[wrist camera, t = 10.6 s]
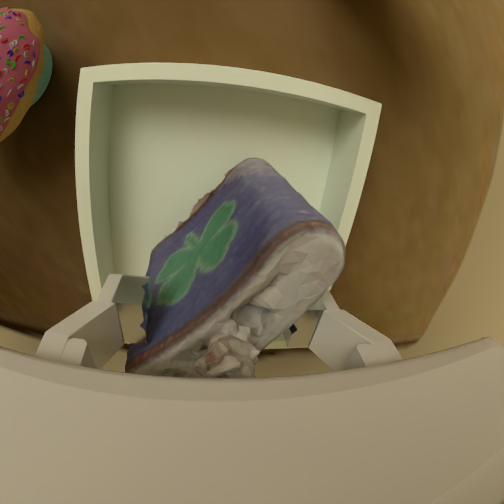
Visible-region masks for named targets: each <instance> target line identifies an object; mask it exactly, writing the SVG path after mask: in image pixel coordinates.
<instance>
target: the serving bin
mask: <svg viewBox="0 0 504 504" xmlns="http://www.w3.org/2000/svg"><path fill="white" fill-rule="evenodd" d="M381 107H382V104H381V103H378V102H375V101H373V100H370V99H367V98H364V97H361V96H358V95H355V94H352V93H349V92H346V91H343V90H339V89H336V88H333V87H329V86H325V85H322V84H318V83H314V82H310V81H306V80H302V79H298V78H293V77H288V76H284V75H279V74H273V73H268V72H262V71H256V70H250V69H243V68H235V67H227V66H217V65H205V64H190V63H129V64H113V65H102V66H93V67H85V68H81V69H80V77H79V85H78V95H77V108H76V126H75V175H76V194H77V207H78V217H79V226H80V234H81V242H82V248H83V255H84V261H85V267H86V272H87V277H88V282H89V287H90V292H91V296H92V301H97V299H98V297H99V295H100V293H101V290H102V288H103V286H104V284H105V282H106V279H107V277H108V275H109V274H111V273H114V274H123V275H124V274H126V275H136V276H146V272H147V270H148V266H149V261H150V255H151V250H152V249H153V248H154V247H155V246H156V245H157V244H158V243H159V242H161V241H162V240H163V239H164V238H165V235H166V236H167V235H169V234H172V233H173V232H174V231H175V230H176V228H177V226H178V224H179V221H180V222H184V221H185V220H187V219H188V218H189V216H190V214H191V212H192V210H191V209H193V206H194V205H195V204H196V203H197V202H198V199H201V198H203V197H204V195H205V194H206V193H210V192H211V190H213V189H215V187H217V186H218V185H219V184H220V183H221V182H222V181H223V179H224V178H225V177H226V176H225V173H227V172H228V170H230V169H232V168H234V167H235V166H236V165H237V164H239V163H241V162H242V161H244V160H245V159H247V158H260V159H264V160H265V161H267V162H268V163H270V165H271V166H272V167H273V168H274V169H275V170H276V171H277V172H278V173H279V174H280V175H282V176H283V177H284V178H286V180H287V181H288V182H289V184H290V185H291V186H292V187H293V188H294V189H295V190H296V191H297V192H298V193H300V194H301V195H302V196H303V197H304V198H305V199H306V201H307V202H308V203H309V204H310V205H311V206H312V207H313V208H315V209H316V210H317V211H318V212H319V213H320V214H322V215H323V216H324V217H325V218H326V219H328V220H329V221H330V222H331V223H332V224H333V226H334V227H335V229H336V230H337V232H338V233H339V234H340V236H341V238H342V239H343V241H344V244H345V247H346V243H347V240H348V237H349V234H350V231H351V227H352V224H353V221H354V217H355V214H356V211H357V207H358V204H359V200H360V197H361V193H362V189H363V186H364V182H365V178H366V174H367V170H368V166H369V162H370V158H371V154H372V149H373V145H374V141H375V136H376V132H377V127H378V122H379V117H380V112H381ZM332 285H333V284H332ZM332 285H331V286H330V287H329V288H328V290H329V292H330V290H331V287H332ZM283 348H305V347H287V345H286V342H285V339H284V336H283V334H281V335H280V336H278V337H277V338H276V339H275V340H274V341H272V342H271V343H270V344H269V345H268V346H267V347H266V348H265V349H283Z"/></svg>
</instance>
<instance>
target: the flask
mask: <svg viewBox="0 0 504 504" xmlns="http://www.w3.org/2000/svg"><path fill="white" fill-rule="evenodd" d="M225 176H226V177H225V178H224V179H223V181H222V182H221V183H220V184H219V185H218V186H217V187H215V189H213V190H211V192H210V193H206V194H205V195H204V197H203V198H201V199H198V202H197V203H196V204H195V205H194V206H193V209H191V210H192V212H191V214H190V216H189V218H188V219H187V220H185V221H184V222H180V221H179V224H178V226H177V228H176V230H175V231H174V232H173V233H172V234H169V235H167V236H166V235H165V238H164V239H163V240H162V241H161V242H159V243H158V244H157V245H156V246H155V247H154V248H153V249H152V250H151V255H150V261H149V266H148V270H147V272H146V276H147V277H150V278H151V291H150V295H151V296H152V302H153V309H152V319H151V322H150V323H149V336H148V342H147V344H135V343H130V348H129V350H128V352H127V361H126V365H125V373H133V374H143V375H154V376H168V377H186V378H256V377H255V376H254V370H255V369H254V365H255V364H256V362H257V361H258V358H257V356H258V355H259V353H260V352H261V351H263V350H264V349H265V348H266V347H267V346H268V345H269V344H270V343H271V342H272V341H274V340H275V339H276V338H277V337H278V336H280V335H281V334H283V333H284V332H286V331H287V330H288V329H289V328H290V327H291V326H292V325H293V324H294V323H295V322H296V321H297V320H298V319H299V318H300V317H301V316H302V315H303V314H304V313H305V312H306V311H307V310H308V309H309V308H310V307H312V306H313V305H314V304H315V303H316V302H317V301H318V300H319V299H320V298H321V297H322V296H323V295H324V293H325V292H326V290H327V289H328V288H329V287H330V286H331V285H332V284H333V283H334V282H335V281H336V280H337V279H338V277H339V275H340V274H341V272H342V270H343V268H344V266H345V259H346V248H345V244H344V241H343V239H342V238H341V236H340V234H339V233H338V232H337V230H336V229H335V227H334V226H333V224H332V223H331V222H330V221H329V220H328V219H326V218H325V217H324V216H323V215H322V214H320V213H319V212H318V211H317V210H316V209H315V208H313V207H312V206H311V205H310V204H309V203H308V202H307V201H306V199H305V198H304V197H303V196H302V195H301V194H300V193H298V192H297V191H296V190H295V189H294V188H293V187H292V186H291V185H290V184H289V182H288V181H287V180H286V178H284V177H283V176H282V175H280V174H279V173H278V172H277V171H276V170H275V169H274V168H273V167H272V166H271V165H270V163H268V162H267V161H265V160H264V159H260V158H247V159H245V160H244V161H242V162H241V163H239V164H237V165H236V166H235V167H234V168H232V169H230V170H228V172H227V173H225Z"/></svg>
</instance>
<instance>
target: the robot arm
mask: <svg viewBox="0 0 504 504" xmlns="http://www.w3.org/2000/svg"><path fill="white" fill-rule="evenodd" d="M150 291H151V278H150V277H147V276H136V275H126V274H124V275H123V274H114V273H111V274H109V275H108V277H107V279H106V282H105V284H104V286H103V288H102V290H101V293H100V295H99V297H98V299H97V301H92V302H90V303H89V304H87V305H85V306H84V307H82V308H81V309H79V310H78V311H76V312H75V313H73V314H72V315H70V316H68V317H67V318H65V319H64V320H62V321H61V322H59V323H58V324H56V325H55V326H53V327H52V328H50V329H49V330H47V331H46V332H45V334H44V336H43V338H42V340H41V342H40V345H39V347H38V349H37V351H36V354H35V356H32V355H29V354H25V353H21V352H17V351H14V350H11V349H7V348H4V347H1V346H0V504H504V344H503V343H501V342H499V341H498V340H496V339H494V338H492V337H484V338H481V339H478V340H475V341H472V342H469V343H466V344H462V345H459V346H456V347H452V348H449V349H445V350H442V351H438V352H434V353H430V354H426V355H422V356H418V357H414V358H409V359H405V360H403V359H402V357H401V355H400V354H399V352H398V351H397V349H396V347H395V346H394V344H393V343H392V341H391V340H390V339H389V338H387V337H386V336H384V335H383V334H381V333H379V332H378V331H376V330H375V329H373V328H372V327H370V326H368V325H367V324H365V323H364V322H362V321H360V320H359V319H357V318H356V317H354V316H353V315H351V314H349V313H348V312H346V311H345V310H340V309H339V307H338V305H337V304H336V302H335V300H334V298H333V297H332V295H331V293H330V292H329V290H328V289H327V290H326V292H325V293H324V295H323V296H322V297H321V298H320V299H319V300H318V301H317V302H316V303H315V304H314V305H313V306H312V307H310V308H309V309H308V310H307V311H306V312H305V313H304V314H303V315H302V316H301V317H300V318H299V319H298V320H297V321H296V322H295V323H294V324H293V325H292V326H291V327H290V328H289V329H288V330H287V331H286V332H284V333H283V336H284V339H285V342H286V345H287V347H309V349H310V350H311V351H313V352H314V353H315V354H316V355H317V356H318V357H319V358H320V359H321V360H322V361H323V362H324V363H325V364H326V365H327V366H328V367H329V368H331V369H332V370H333V371H334V372H327V373H318V374H307V375H297V376H282V377H263V378H186V377H168V376H154V375H143V374H133V373H125V372H117V371H109V370H102V369H101V368H102V367H103V365H104V364H105V363H106V362H107V361H108V360H109V359H110V358H111V357H112V356H113V355H114V354H115V353H116V352H117V351H118V350H119V349H120V348H121V347H122V346H123V345H124V343H135V344H147V342H148V336H149V323H150V322H151V319H152V309H153V302H152V296H151V295H150Z"/></svg>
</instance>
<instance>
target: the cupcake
mask: <svg viewBox="0 0 504 504" xmlns="http://www.w3.org/2000/svg"><path fill="white" fill-rule="evenodd" d="M52 67H53V61H52V56H51V53H50V51H49V49H48V48H47V47H46V46H45V45H44V30H43V27H42V26H41V24H40V23H39V21H38V20H37V18H36V16H35V15H34V14H33V13H32V12H31V11H29V10H25V9H10V7H4V8H1V9H0V142H1V141H2V140H4V139H5V138H6V137H7V136H9V135H10V134H11V133H12V132H13V131H14V130H15V129H16V128H17V127H18V126H19V124H20V123H21V121H22V119H23V117H24V115H25V114H26V112H27V111H28V109H29V108H30V107H31V106H32V105H33V104H34V103H36V102H37V101H38V99H39V98H40V97H41V96H42V94H43V93H44V91H45V90H46V88H47V86H48V83H49V81H50V78H51V74H52Z"/></svg>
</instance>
